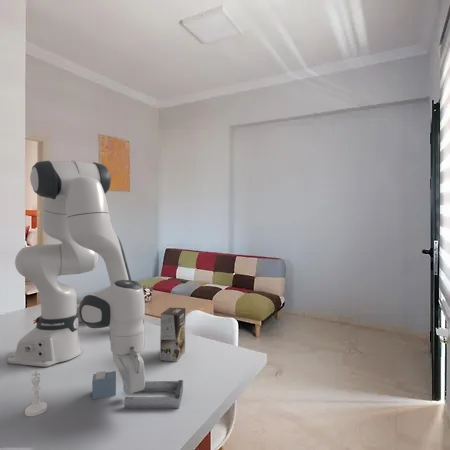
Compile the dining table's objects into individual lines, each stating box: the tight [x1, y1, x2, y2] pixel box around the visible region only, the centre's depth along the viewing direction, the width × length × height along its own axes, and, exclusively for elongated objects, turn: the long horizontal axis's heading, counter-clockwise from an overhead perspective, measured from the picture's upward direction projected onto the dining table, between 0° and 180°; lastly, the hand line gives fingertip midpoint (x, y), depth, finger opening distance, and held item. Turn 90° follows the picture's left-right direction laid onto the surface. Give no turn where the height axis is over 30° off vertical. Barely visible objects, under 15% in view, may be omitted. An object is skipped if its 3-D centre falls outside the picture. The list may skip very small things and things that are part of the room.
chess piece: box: [24, 370, 48, 417], centre depth 80 cm, size 5×5×10 cm
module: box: [91, 370, 117, 400], centre depth 88 cm, size 6×4×6 cm, turn 108°
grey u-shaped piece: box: [123, 379, 184, 410], centre depth 86 cm, size 14×9×3 cm, turn 91°
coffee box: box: [159, 307, 187, 363], centre depth 113 cm, size 9×6×16 cm
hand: (127, 392), depth 85 cm, fingers closed
